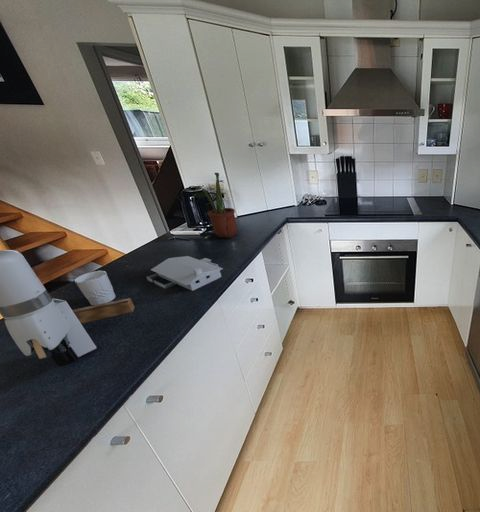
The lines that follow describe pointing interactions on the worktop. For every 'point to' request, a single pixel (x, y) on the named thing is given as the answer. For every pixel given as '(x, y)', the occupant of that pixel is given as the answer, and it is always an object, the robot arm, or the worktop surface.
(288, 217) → the worktop surface
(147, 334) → the worktop surface
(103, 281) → the white cup
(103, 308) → the rail
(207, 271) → the grey portable case
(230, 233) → the potted plant
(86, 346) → the milk carton
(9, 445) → the worktop surface
